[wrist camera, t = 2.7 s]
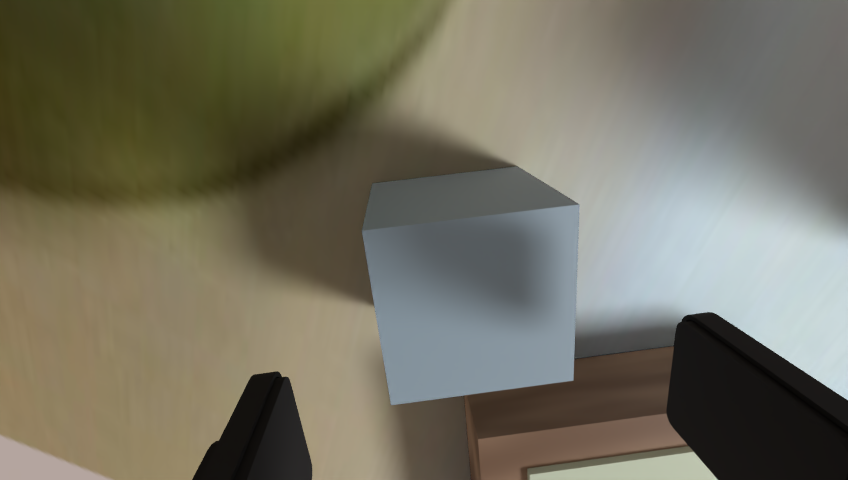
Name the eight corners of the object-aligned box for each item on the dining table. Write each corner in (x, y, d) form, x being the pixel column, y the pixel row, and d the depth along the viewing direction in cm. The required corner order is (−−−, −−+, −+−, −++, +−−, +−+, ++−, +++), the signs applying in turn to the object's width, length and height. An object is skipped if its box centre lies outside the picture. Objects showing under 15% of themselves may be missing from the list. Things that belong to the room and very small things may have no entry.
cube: (372, 182, 17) (361, 230, 11) (516, 165, 17) (579, 204, 11) (391, 310, 19) (391, 405, 13) (519, 294, 19) (573, 380, 13)
